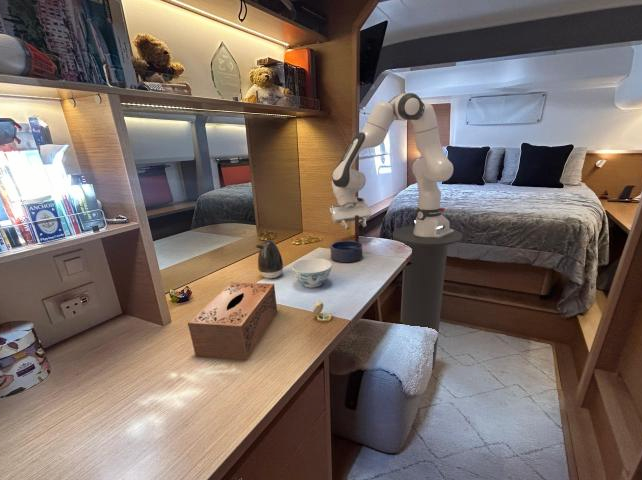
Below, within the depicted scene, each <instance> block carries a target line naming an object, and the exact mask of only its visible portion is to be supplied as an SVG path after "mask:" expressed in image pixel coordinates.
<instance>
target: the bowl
mask: <svg viewBox="0 0 642 480" xmlns="http://www.w3.org/2000/svg"><path fill="white" fill-rule="evenodd" d="M329 247H330V248H329V249H330V259H331V260H333V261H335V262H339V263H352V262H357V261H359V260H362V259H363V244H362V242H360V243H359V242H356V241H355V240H340V241H335V242H333V243H331V244H330V246H329Z"/></svg>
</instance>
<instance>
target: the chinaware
mask: <svg viewBox="0 0 642 480" xmlns="http://www.w3.org/2000/svg"><path fill="white" fill-rule="evenodd" d="M332 267H333V263H332V262H331V261H330V260H328V259H324V258H317V257H316V258H315V257H313V258H304V259H300V260H298V261H295V262H294V263H292V265H291V270H292V273H293V275H294V276H295V278H296V280H298V281H299V282H300V283H302V284H303V285H304V286H305V287H306V288H318V287H320V286H321V285H322V284H323V282H325V281H326V280H327V279H328V277H329V276H330V274H331V271H332Z"/></svg>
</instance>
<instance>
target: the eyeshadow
mask: <svg viewBox="0 0 642 480" xmlns="http://www.w3.org/2000/svg"><path fill="white" fill-rule="evenodd" d="M323 309H324V303H323V302H321V301H318V302H317V303H315V305H314V307H313V309H312V313H313V315H314V316H316V320H317V321H318V322H321V323H327V322H330V321H332V315H331V314H330V313H327V312H322V311H323Z"/></svg>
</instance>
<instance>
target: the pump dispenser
mask: <svg viewBox="0 0 642 480" xmlns="http://www.w3.org/2000/svg"><path fill="white" fill-rule="evenodd" d="M255 247H256V249H259V251H258V256H257V269H258V271H259V274H260V275H261V276H262V277H264V278H265V279H276V278H278V277H279V276H281V275H282V273H283V270H284V267H285V266H284V261H283V257H282V254H281V252H280V249H279V247H278V246H277V244H276V243H275V242H274V241H273V240H272V239H271V240H270V239H267V240H264V241H263V242H262V243H261V244H256V245H255Z"/></svg>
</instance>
